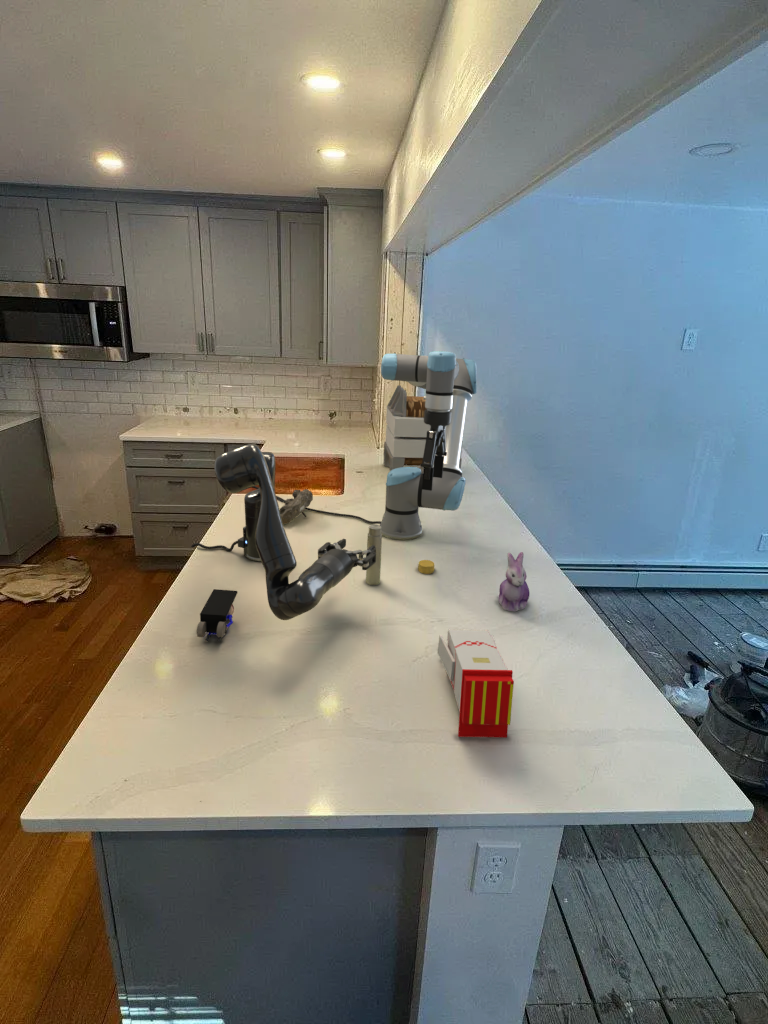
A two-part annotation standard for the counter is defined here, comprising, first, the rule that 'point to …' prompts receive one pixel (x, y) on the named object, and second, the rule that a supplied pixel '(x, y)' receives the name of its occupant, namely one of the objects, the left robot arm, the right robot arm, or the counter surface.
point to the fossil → (295, 505)
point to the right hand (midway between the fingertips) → (432, 483)
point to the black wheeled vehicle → (217, 614)
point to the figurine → (514, 585)
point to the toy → (478, 682)
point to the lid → (426, 566)
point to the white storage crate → (406, 431)
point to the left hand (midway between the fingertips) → (359, 545)
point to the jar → (376, 540)
